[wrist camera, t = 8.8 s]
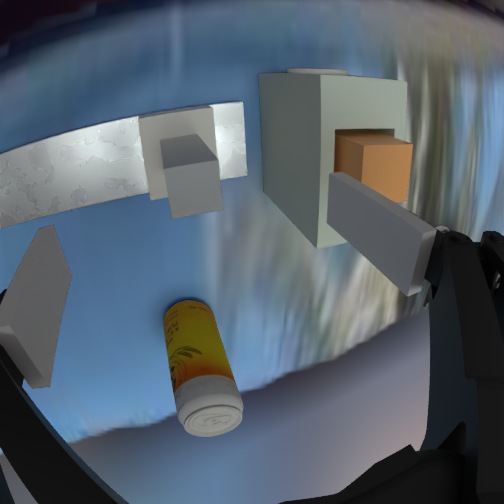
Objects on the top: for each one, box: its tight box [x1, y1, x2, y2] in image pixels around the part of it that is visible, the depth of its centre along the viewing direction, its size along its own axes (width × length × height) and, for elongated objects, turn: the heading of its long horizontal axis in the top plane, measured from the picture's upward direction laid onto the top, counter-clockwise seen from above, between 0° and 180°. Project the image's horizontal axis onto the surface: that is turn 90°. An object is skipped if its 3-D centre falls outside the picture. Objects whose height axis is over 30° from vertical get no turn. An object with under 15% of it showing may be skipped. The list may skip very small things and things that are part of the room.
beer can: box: [163, 300, 243, 437], centre depth 32 cm, size 6×6×15 cm
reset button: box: [334, 129, 413, 203], centre depth 21 cm, size 4×4×5 cm
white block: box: [258, 69, 407, 249], centre depth 26 cm, size 7×12×12 cm, turn 3°
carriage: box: [138, 106, 223, 219], centre depth 22 cm, size 6×7×11 cm
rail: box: [0, 101, 247, 228], centre depth 26 cm, size 25×7×2 cm, turn 93°
